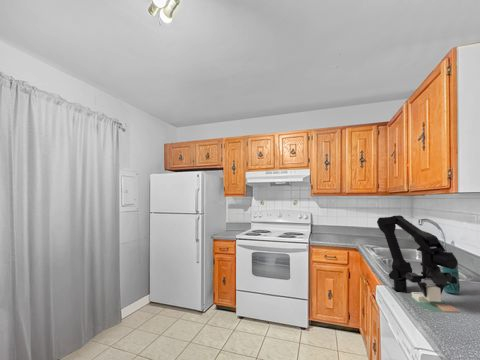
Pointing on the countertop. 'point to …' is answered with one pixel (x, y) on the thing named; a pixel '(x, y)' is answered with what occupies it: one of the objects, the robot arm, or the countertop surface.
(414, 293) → the spiral notebook
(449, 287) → the beverage bottle
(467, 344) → the countertop surface
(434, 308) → the mat
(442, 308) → the coaster
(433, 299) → the stub
